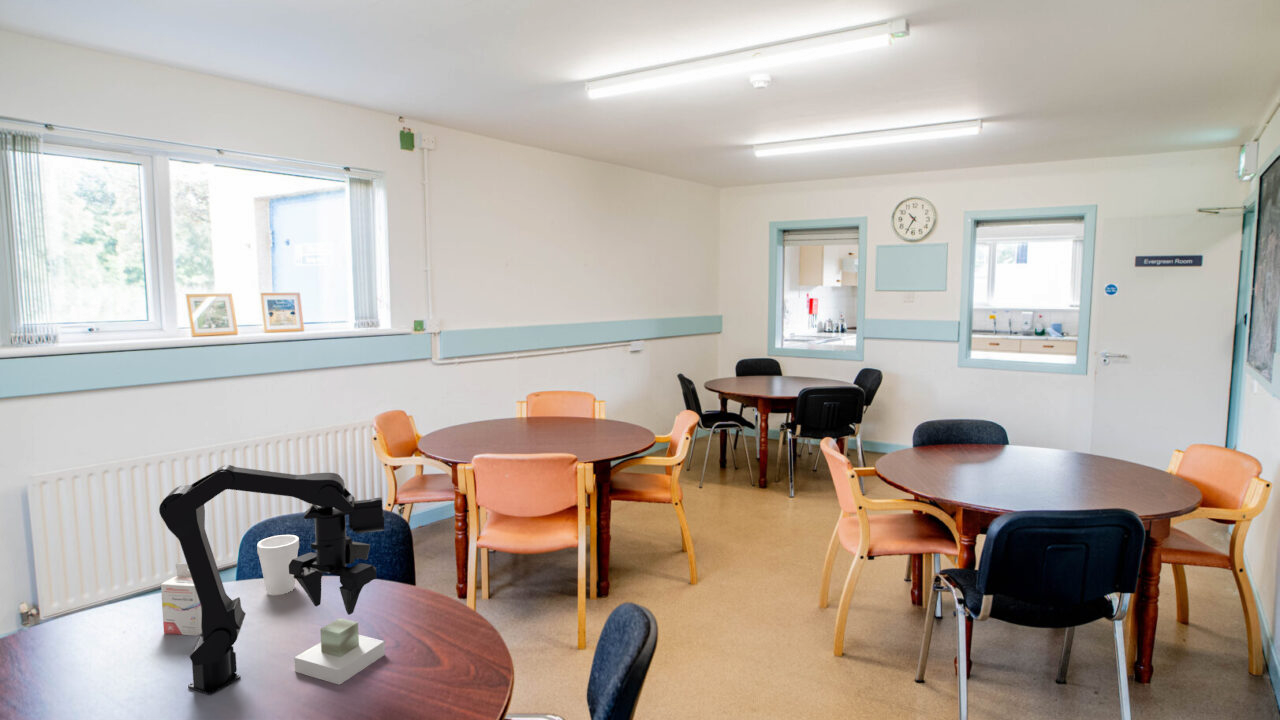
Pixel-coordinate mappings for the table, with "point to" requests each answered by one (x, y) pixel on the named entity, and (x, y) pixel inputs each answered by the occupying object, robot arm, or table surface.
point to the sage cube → (339, 637)
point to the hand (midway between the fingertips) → (333, 609)
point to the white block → (339, 661)
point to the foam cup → (278, 562)
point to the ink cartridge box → (181, 604)
